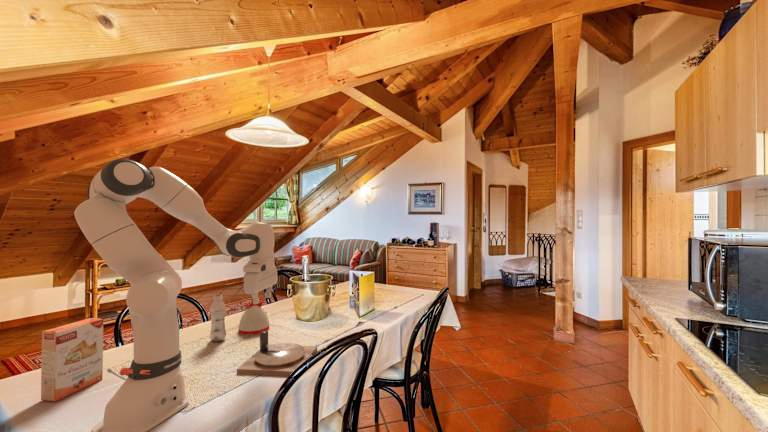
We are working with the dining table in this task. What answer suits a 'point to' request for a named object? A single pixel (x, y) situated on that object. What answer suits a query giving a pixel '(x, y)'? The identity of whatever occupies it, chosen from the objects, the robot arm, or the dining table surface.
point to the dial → (277, 353)
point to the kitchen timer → (254, 319)
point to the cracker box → (71, 358)
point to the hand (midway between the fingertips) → (262, 300)
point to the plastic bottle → (217, 319)
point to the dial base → (286, 370)
